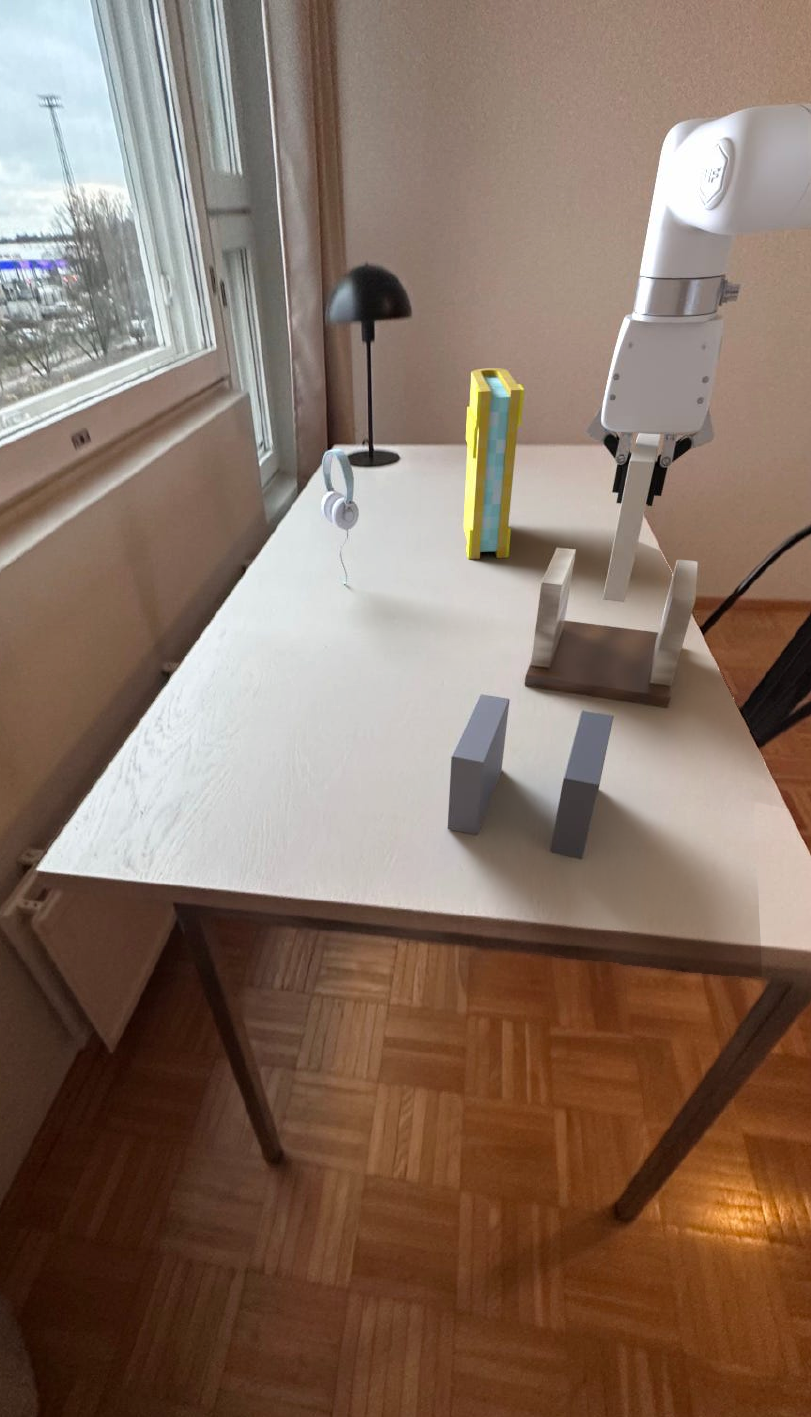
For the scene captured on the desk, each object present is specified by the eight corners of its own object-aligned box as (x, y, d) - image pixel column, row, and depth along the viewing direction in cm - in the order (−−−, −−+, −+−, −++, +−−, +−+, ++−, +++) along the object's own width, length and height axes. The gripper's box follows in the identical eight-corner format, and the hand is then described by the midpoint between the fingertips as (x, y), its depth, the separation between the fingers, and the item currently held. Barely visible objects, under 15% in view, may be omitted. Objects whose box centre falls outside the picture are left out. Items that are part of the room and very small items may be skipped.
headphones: (366, 590, 112) (361, 454, 99) (344, 596, 111) (336, 459, 98) (343, 572, 118) (336, 441, 105) (322, 577, 116) (311, 446, 103)
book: (508, 557, 119) (524, 389, 103) (468, 559, 120) (477, 391, 103) (495, 521, 132) (508, 367, 116) (459, 523, 132) (467, 369, 116)
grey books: (596, 787, 74) (613, 715, 68) (582, 859, 66) (599, 785, 60) (474, 763, 77) (480, 693, 72) (447, 828, 70) (451, 756, 64)
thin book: (633, 564, 88) (661, 433, 78) (624, 602, 81) (654, 462, 71) (613, 562, 89) (638, 432, 79) (602, 599, 81) (629, 460, 72)
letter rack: (674, 644, 95) (699, 553, 87) (667, 707, 84) (695, 610, 76) (546, 628, 100) (559, 540, 92) (524, 685, 89) (536, 591, 81)
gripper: (769, 293, 67) (713, 495, 79) (594, 294, 72) (566, 484, 84) (773, 304, 62) (712, 519, 74) (583, 304, 66) (556, 506, 78)
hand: (635, 499), depth 79 cm, fingers closed on thin book, 2 cm apart
